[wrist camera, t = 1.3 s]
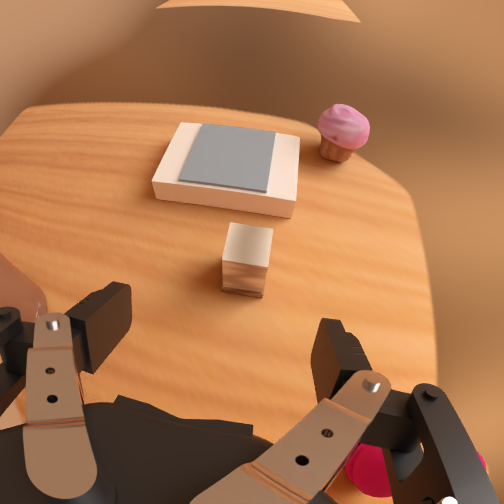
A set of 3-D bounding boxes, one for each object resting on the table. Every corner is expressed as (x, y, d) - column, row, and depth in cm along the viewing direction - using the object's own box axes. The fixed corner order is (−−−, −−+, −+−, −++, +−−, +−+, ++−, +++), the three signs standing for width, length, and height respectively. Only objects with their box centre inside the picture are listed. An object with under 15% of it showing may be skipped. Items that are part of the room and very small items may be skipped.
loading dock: (156, 199, 43) (150, 178, 39) (183, 139, 50) (180, 120, 46) (290, 218, 43) (296, 198, 39) (295, 154, 49) (300, 134, 46)
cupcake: (319, 133, 53) (331, 90, 44) (361, 151, 52) (378, 110, 43) (304, 159, 49) (316, 112, 40) (351, 179, 48) (370, 135, 39)
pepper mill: (370, 496, 24) (481, 540, 7) (328, 473, 26) (428, 523, 9) (404, 450, 27) (527, 454, 10) (364, 425, 29) (485, 421, 12)
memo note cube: (221, 291, 37) (219, 261, 30) (228, 256, 39) (228, 220, 32) (262, 298, 36) (269, 269, 29) (267, 262, 39) (275, 227, 32)
